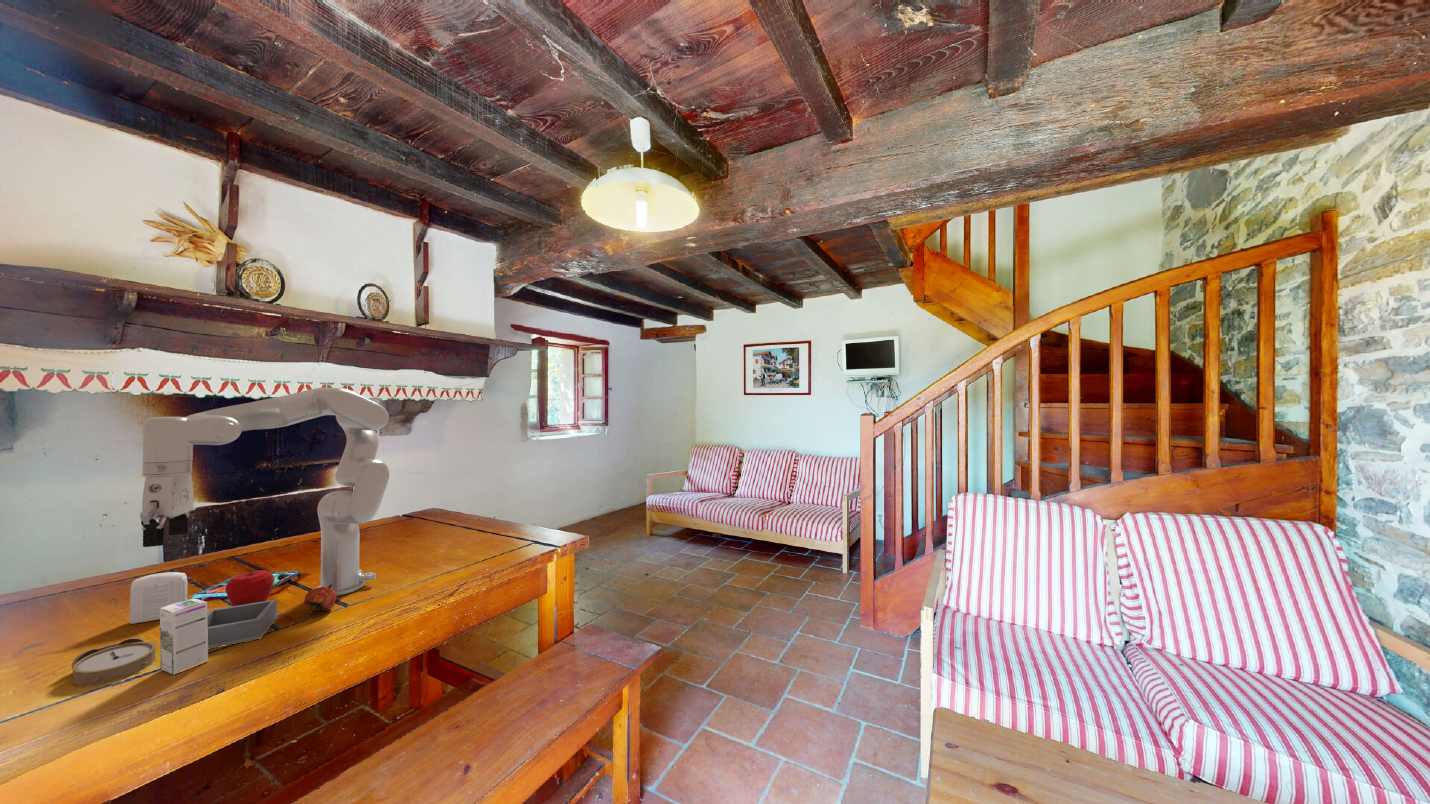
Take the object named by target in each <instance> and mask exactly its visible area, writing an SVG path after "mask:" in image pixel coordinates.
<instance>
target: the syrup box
mask: <svg viewBox="0 0 1430 804" xmlns="http://www.w3.org/2000/svg"><path fill="white" fill-rule="evenodd" d="M207 612H208V601H204V600H202V599H197V598H193V597H192V598H189V599H188V598H187V600H184V601H180V602H177V603H174V604H171V605H168V606H165V607H162V608H160V619H159V626H160V628H159V629H160V630H159V631H160V632H159V633H160V634H159V635H160V638H159V639H160V641H159V643H160V646H159V647H160V671H162V672H165V673H167V674H170V675H172V676H176V675H175V674H176V673H178V672H180V671H182V670H184V669H187V668H190V667H192V666H196V665H198V664H200V663H204V662H207V661H208V662H209V650H208V622H207ZM208 662H207V663H208Z"/></svg>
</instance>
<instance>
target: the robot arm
mask: <svg viewBox="0 0 1430 804" xmlns="http://www.w3.org/2000/svg"><path fill="white" fill-rule="evenodd" d="M323 416H335V419H336V422H337V423H338V425H339V426H340V427H341V428H342V430H343V431H344V434H345V437H346V444H345V448H344V451H343V452H342V456H341V458H340V460H339V464H338V466H337V468H336V472H335V476H334V477H335V481H336V483H338V484H339V485H340V486H344V487H348V488H353V491H349V490H335V491H331V492H329V493H326V494H325V495H324V496H323V497H322V498H321V499H320V500H319V502H318V504H317V511H316V512H317V516H318V522H319V525H320V538H321V539H320V585H319V586H317V587H316V588H319V587H328V586H330V584H332V586H331V588H332V589H333V591H334V592H335V593H336V597H337V596H342V595H343V596H344V595H346V594H350V593H353V592H356V591H358V590H360V589H361V588H363V587H364V586H365V584H366V581H372V580H376V578H377V577H376V575H377V573H376V572H374V573H373V572H372V571H370V572H365V573H364V572H362V568H360V527H359V526H360V524H361V525H362V524H365V523H367V522H370V521H371V520H372V519H373V518H374V517H375V516H376V514H377V513H378V511H379V509H380V506H381V504H382V500H383V498H384V495H385V492H386V489H387V487H388V483H389V480H390V470H389V467H388V465H387V464H386V463H385V462H384V461H382V460H379V459H375V458H376V455H377V452H378V449H379V438H378V434H377V430H378V431H379V430H380V429H383V428H384V427H385V426H386V425H387V424H388V423H389V419H390V416H389V412H388V410H387V409H386V408H385V407H384V406H382V405H380V404H379V403H377V402H375V401H373V400H371V399H369V398H366V397H364V396H363V395H360V394H358V393H356V392H354V391H353V390H349V389H347V388H342V387H317V388H316V387H315V388H312V389H311V388H310V389H307V390H303V391H299V392H294V393H291V394H287V395H285V394H284V395H281V396H277V397H273V398H272V397H271V398H266V399H262V400H256V401H252V402H246V403H241V404H234V405H229V406H226V407H225V406H224V407H219V408H214V409H210V410H206V411H202V412H198V413H193V414H189V415H188V416H153V417H152V416H151V417H149V418H147V419H145V420H144V422H143V425H142V466H141V467H142V471H141V472H142V475H141V477H143V478H145V480H144V484H143V491H142V500H141V501H142V503H141V510H142V511H141V512H140V513H139V517H140V520H141V521H140V524H141V530H142V547H143V548H149V547H150V548H151V547H160V546H164V545H165V544H166V527H164V524H165V522H166V520H167V518H169V519H168V535H169V536H177V535H178V536H179V535H187V534H188V533H189V531H190V530H189V529H190V528H189V527H190V515H191V514H190V511H192V510H193V509H194V507H195V500H194V499H195V498H194V497H195V496H194V482H193V478H192V477H193V476H192V473H193V449H194V448H193V445H202V446H203V445H206V446H207V445H208V446H222V445H226V444H230V443H232V442H234V441H235V440H237V439H238V438H239V437H240V435H241V433H242V432H247V431H252V430H253V431H254V430H269V429H270V430H271V429H276V428H277V429H278V428H283V427H288V426H291V425H295V424H298V423H301V422H305V421H309V420H312V419H316V418H320V417H323ZM157 520H158V521H157Z"/></svg>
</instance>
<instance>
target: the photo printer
mask: <svg viewBox="0 0 1430 804" xmlns="http://www.w3.org/2000/svg"><path fill="white" fill-rule="evenodd" d="M129 589H130V591H129V593H130V596H129V624H130V625H131V624H132V625H133V624H138V623H145V622H150V621H151V622H152V621H157V620H160V608H162V607H165V606H168V605H171V604H174V603H177V602H180V601H184V600H188V576H187V574H186V573H184V572H173V571H170V572H161V573H160V572H159V573H153V574H148V575H145V576H141V577H139V578H137V579H134V580H132V583H131V586H130V588H129Z"/></svg>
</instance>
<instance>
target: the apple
mask: <svg viewBox="0 0 1430 804" xmlns="http://www.w3.org/2000/svg"><path fill="white" fill-rule="evenodd" d="M274 584H275V577H274V574H273V573H272V572H270V571H269V570H268V571H267V570H266V569H265V570H262V569H261V570H253V571H252V570H250V571H248V572H243V573H240V574H236V575H234V576H232V578H231V579H230V580H229V581H227V583H226V586H225V589H224V590H225V592H226V596H227V598H228V599H229V601H230V603H231V605H232V606H238V605H245V604H251V603H257V602H263V601H268V600H267V599H268V598H269V596H270V594H271V592H272V590H273V586H274Z"/></svg>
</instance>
